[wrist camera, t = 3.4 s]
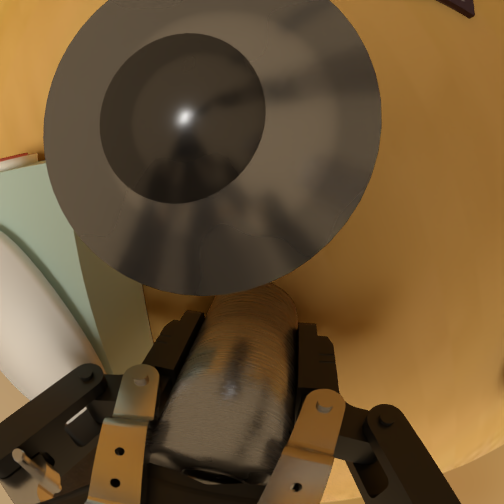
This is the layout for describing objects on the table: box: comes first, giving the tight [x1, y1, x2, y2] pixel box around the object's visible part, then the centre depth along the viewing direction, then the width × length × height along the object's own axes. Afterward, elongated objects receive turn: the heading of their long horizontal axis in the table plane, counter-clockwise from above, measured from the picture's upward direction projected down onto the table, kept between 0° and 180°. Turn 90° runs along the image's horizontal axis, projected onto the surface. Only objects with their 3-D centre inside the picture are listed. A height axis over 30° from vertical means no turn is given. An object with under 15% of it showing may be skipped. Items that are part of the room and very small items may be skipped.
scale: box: [0, 153, 153, 424], centre depth 12 cm, size 16×13×5 cm
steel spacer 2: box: [149, 283, 298, 486], centre depth 9 cm, size 4×4×8 cm
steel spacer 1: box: [43, 0, 381, 296], centre depth 6 cm, size 4×4×8 cm
